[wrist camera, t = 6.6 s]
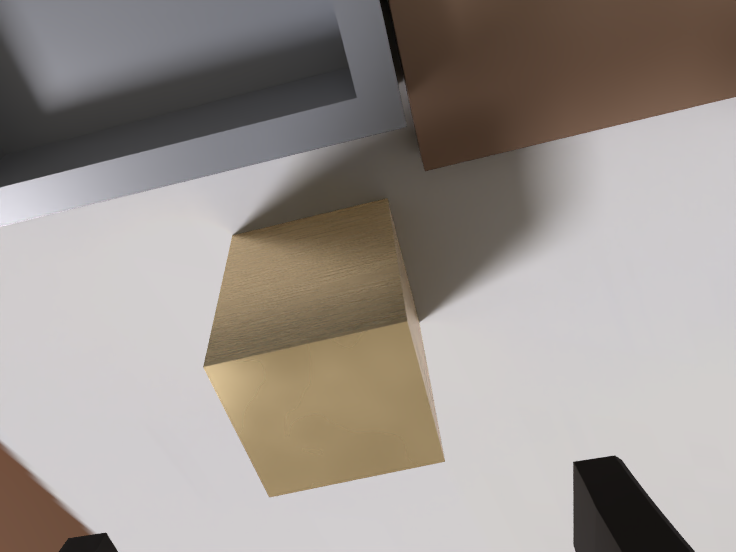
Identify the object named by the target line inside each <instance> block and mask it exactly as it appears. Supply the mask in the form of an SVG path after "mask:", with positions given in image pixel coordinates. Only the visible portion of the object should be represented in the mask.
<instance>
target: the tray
mask: <svg viewBox="0 0 736 552" xmlns="http://www.w3.org/2000/svg"><path fill="white" fill-rule="evenodd" d="M404 127H407V124H406V120H405V115H404V111H403V106H402V101H401V97H400V92H399V88H398V83H397V79H396V74H395V69H394V65H393V60H392V56H391V51H390V47H389V42H388V37H387V33H386V28H385V24H384V19H383V15H382V10H381V5H380V1H379V0H0V227H2V226H6V225H10V224H14V223H18V222H22V221H26V220H30V219H34V218H38V217H42V216H46V215H50V214H54V213H59V212H63V211H67V210H71V209H75V208H79V207H83V206H87V205H91V204H95V203H99V202H103V201H107V200H111V199H115V198H120V197H124V196H128V195H132V194H136V193H140V192H144V191H148V190H152V189H156V188H160V187H164V186H168V185H172V184H176V183H181V182H185V181H189V180H193V179H197V178H201V177H205V176H209V175H213V174H217V173H221V172H225V171H229V170H233V169H237V168H242V167H246V166H250V165H254V164H258V163H262V162H266V161H270V160H274V159H278V158H282V157H286V156H290V155H294V154H298V153H303V152H307V151H311V150H315V149H319V148H323V147H327V146H331V145H335V144H339V143H343V142H347V141H351V140H355V139H360V138H364V137H368V136H372V135H376V134H380V133H384V132H388V131H392V130H396V129H400V128H404Z"/></svg>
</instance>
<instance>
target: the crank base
mask: <svg viewBox="0 0 736 552" xmlns="http://www.w3.org/2000/svg"><path fill="white" fill-rule="evenodd" d="M388 5H389V9H390V14H391V19H392V23H393V28H394V33H395V38H396V42H397V47H398V52H399V56H400V61H401V66H402V70H403V75H404V80H405V85H406V89H407V94H408V99H409V103H410V108H411V113H412V118H413V122H414V127H415V132H416V136H417V141H418V146H419V151H420V155H421V158H422V162H423V166H424V169H425V171H428V170H432V169H436V168H440V167H444V166H449V165H453V164H457V163H461V162H465V161H470V160H474V159H478V158H482V157H486V156H490V155H495V154H499V153H503V152H507V151H511V150H515V149H520V148H524V147H528V146H532V145H536V144H541V143H545V142H549V141H553V140H557V139H561V138H566V137H570V136H574V135H578V134H582V133H587V132H591V131H595V130H599V129H603V128H607V127H612V126H616V125H620V124H624V123H628V122H632V121H637V120H641V119H645V118H649V117H653V116H658V115H662V114H666V113H670V112H674V111H678V110H683V109H687V108H691V107H695V106H699V105H703V104H708V103H712V102H716V101H720V100H724V99H729V98H733V97H736V0H388Z"/></svg>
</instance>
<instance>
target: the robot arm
mask: <svg viewBox="0 0 736 552" xmlns="http://www.w3.org/2000/svg"><path fill="white" fill-rule="evenodd" d="M573 491H574V548H575V551H576V552H695V551H694V550H693V549H692V548H691V547H690V545H689V544H688V543H687V542H686V541H685V540H684V538H683V537H682V536H681V535H680V534H679V532H678V531H677V530H676V529H675V528H674V526H673V525H672V524H671V523H670V522H669V520H668V519H667V518H666V517H665V516H664V514H663V513H662V512H661V511H660V509H659V508H658V507H657V506H656V504H655V503H654V502H653V501H652V499H651V498H650V497H649V496H648V494H647V493H646V492H645V491H644V489H643V488H642V487H641V485H640V484H639V483H638V481H637V480H636V479H635V477H634V476H633V475H632V473H631V472H630V471H629V469H628V468H627V467H626V465H625V464H624V462H623V461H622V460H621V459H619V458H618V457H616V456H609V457H602V458H596V459H589V460H583V461H576V462H573ZM59 552H118V551H117V549H116V548H115V546H114V544H113V543H112V541H111V540H110V538H109V536H108V535H107V533H101V534H94V535H88V536H81V537H74V538H68V540H67V541H66V542H65V544H64V545H63V547H62V548H61V549H60V551H59Z"/></svg>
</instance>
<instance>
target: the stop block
mask: <svg viewBox="0 0 736 552" xmlns="http://www.w3.org/2000/svg"><path fill="white" fill-rule="evenodd" d="M203 367H204V369H205V371H206V373H207V375H208V377H209V379H210V381H211V383H212V385H213V387H214V389H215V391H216V393H217V395H218V397H219V399H220V401H221V403H222V405H223V407H224V409H225V411H226V413H227V415H228V417H229V419H230V421H231V423H232V425H233V427H234V429H235V431H236V433H237V435H238V436H239V438H240V440H241V442H242V444H243V446H244V448H245V450H246V452H247V454H248V456H249V458H250V460H251V462H252V464H253V466H254V468H255V470H256V472H257V474H258V476H259V478H260V480H261V482H262V484H263V486H264V488H265V490H266V492H267V494H268V496H269V497H274V496H279V495H283V494H288V493H293V492H298V491H303V490H308V489H313V488H318V487H323V486H328V485H332V484H337V483H342V482H347V481H352V480H357V479H362V478H367V477H372V476H377V475H381V474H386V473H391V472H396V471H401V470H406V469H411V468H416V467H421V466H426V465H430V464H435V463H440V462H445V459H444V454H443V448H442V443H441V437H440V432H439V427H438V421H437V416H436V410H435V405H434V400H433V394H432V389H431V383H430V378H429V373H428V367H427V362H426V356H425V351H424V346H423V340H422V335H421V329H420V324H419V320H418V316H417V312H416V308H415V304H414V300H413V296H412V292H411V288H410V284H409V281H408V277H407V273H406V269H405V265H404V261H403V257H402V253H401V249H400V245H399V241H398V238H397V234H396V230H395V226H394V222H393V218H392V214H391V210H390V206H389V202H388V198H386V199H382V200H378V201H374V202H370V203H365V204H361V205H357V206H353V207H349V208H345V209H340V210H336V211H332V212H328V213H324V214H320V215H315V216H311V217H307V218H303V219H299V220H295V221H290V222H286V223H282V224H278V225H274V226H270V227H266V228H261V229H257V230H253V231H249V232H245V233H241V234H236V235H233V236H232V240H231V245H230V249H229V254H228V258H227V263H226V267H225V272H224V276H223V281H222V285H221V290H220V294H219V299H218V303H217V308H216V312H215V317H214V321H213V326H212V330H211V335H210V339H209V344H208V348H207V353H206V357H205V362H204V366H203Z"/></svg>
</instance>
